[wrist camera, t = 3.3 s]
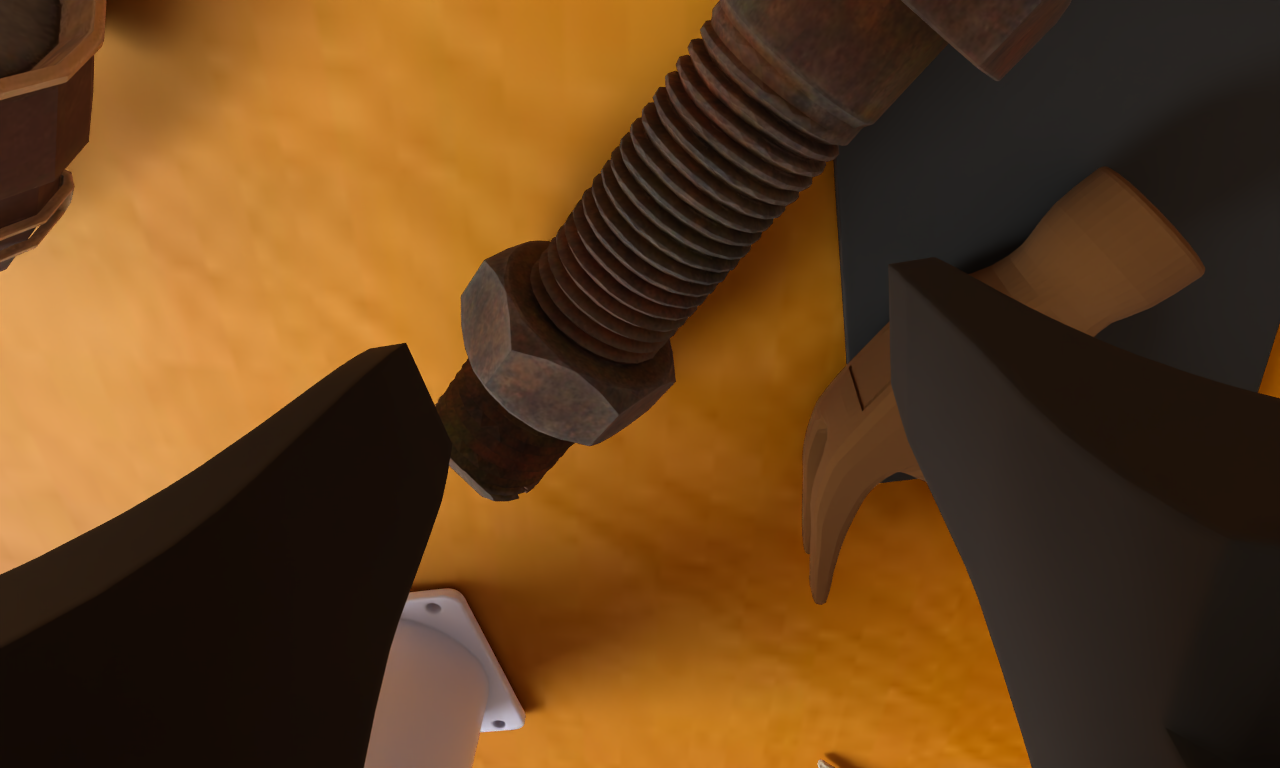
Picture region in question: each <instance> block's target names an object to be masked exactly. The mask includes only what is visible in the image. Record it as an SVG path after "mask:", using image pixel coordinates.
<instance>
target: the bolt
mask: <svg viewBox="0 0 1280 768" xmlns="http://www.w3.org/2000/svg"><path fill="white" fill-rule="evenodd" d="M1071 1H1072V0H720V1H719V2H718V3H717V4H716V6H715V7H714V8H713V12H712V19H711V20H709V21H706V22H705V23H704V25H703V26H702V28H701V29H700V31H701V35H702V39H703V40H702V39H699V38H698V39H693V40H691V42H690V44H689V46H688V50H689V54H690V56H689V55H684V56H681V57H679V59H678V61H677V63H676V67H677V70H678V72H677V71H674V72H671V73H668V74H667V75H666V77H665V83H666V87H659V88H658V90H657V92H656V93H655V95H654V96H653V100H654V102H651V103H648V104H647V105H646V106H645V107H644V108H643V110H642V117H641V118H637V119H636V120H635V122H634V123H633V124H632V125H631V129H630V132H628V133H627V134H626V135H625V136H624V137H623V138H622V139H621V142H620V146H618V147H617V148H616V149H615V150H614V151H613V152H612V155H611V160H608V161H607V162H606V164H605V165H604V167H603V168H602V170H601V173H600V174H598V175H597V176H596V177H595V178H594V179H593V185H592V187H591V188H589V189H587V190H586V191H585V192H584V194H583V197H582V200H580V201H579V202H578V204H577V205H576V207H575V208H574V210H573V212H572V213H571V214H570V216H569V217H568V219H567V220H566V222H565V224H564V225H563V226H561V228H560V229H559V231H558V233H557V235H556V237H554V238H553V239H552V240H551V242H549V241H529V242H526V243H523V244H520V245H517V246H514V247H511V248H508V249H506V250H504V251H502V252H500V253H498V254H496V255H494V256H492V257H490V258H488V259H486V260H484V261H483V263H482V264H481V266H480V267H479V269H478V271H477V272H476V274H475V275H474V277H473V278H472V280H471V281H470V283H469V284H468V286H467V288H466V289H465V291H464V292H463V294H462V295H461V326H462V332H463V339H464V345H465V349H466V352H467V355H468V359H467V362H465V363H464V364H463V366H462V369H461V370H460V371H459V372H458V373H457V374H456V377H455V379H454V380H453V381H452V382H451V383H450V385H449V387H448V389H447V390H446V392H445V393H444V394H443V395H442V396H441V397H440V398H439V400H438V403H437V404H436V410H437V412H438V414H439V416H440V418H441V420H442V423H443V425H444V427H445V429H446V431H447V434H448V436H449V438H450V440H451V442H452V450H451V456H450V462H449V466H450V467H451V468H452V469H453V470H454V471H455V472H456V473H457V474H458V475H459V476H461V477H462V478H463V479H464V480H465V481H466V482H467V483H468V484H469V485H470V486H471V487H472V488H473V489H474V490H475V491H476V492H477V493H479V494H480V495H481V496H482V497H484V498H487V499H490V500H493V501H511V500H515V499H519V496H518V494H520V493H524V492H526V493H527V492H529V491H530V490H532V489H533V488H534V487H535V485H537V484H538V483H539V481H540V480H541V479H542V477H543V476H544V475H545V473H546V472H547V471H548V470H549V469H551V468H552V467H553V466H554V464H555V463H556V462H557V461H558V459H559V458H560V457H562V456H563V455H564V453H565V452H566V451H567V449H568V448H569V447H570V446H572V445H573V444H574V443H579V444H583V445H587V446H592V445H595V444H598V443H601V442H603V441H604V440H606V439H608V438H610V437H611V436H613V435H615V434H616V433H618V432H619V431H621V430H622V429H624V428H625V427H627V426H628V425H629V424H631V423H632V422H633V421H635V420H636V419H637V418H639V417H640V416H641V415H643V414H644V413H645V412H647V411H648V410H649V409H650V408H651V407H652V406H653V405H654V404H655V403H656V402H657V401H658V400H659V398H660V397H661V396H662V395H663V394H664V393H665V392H666V391H667V390H668V389H669V388H670V387H671V386H672V385H673V384H674V383H675V382H676V379H675V370H674V360H673V351H672V347H671V343H670V339H669V338H671V337H672V336H673V335H674V334H675V333H676V331H677V330H678V328H679V327H681V326H682V325H683V324H684V323H685V322H686V320H687V319H688V317H690V316H691V315H692V314H693V313H694V312H695V311H696V310H697V307H698V306H699V305H701V304H702V303H703V302H704V300H705V299H706V298H707V296H708V295H709V294H711V293H712V292H713V291H714V289H715V288H716V286H717V285H718V283H719V282H722V281H723V280H724V279H725V277H726V276H727V274H728V272H729V271H730V270H733V269H734V268H735V267H736V265H737V264H738V262H739V260H740V259H741V258H742V257H744V256H745V255H746V254H747V253H748V252H749V251H750V249H751V244H753V243H755V242H756V241H758V240H759V239H760V237H761V234H762V231H766V230H767V229H768V228H769V227H770V225H771V224H772V223H773V219H774V218H778V217H779V216H780V215H781V214H782V213H783V212H784V211H785V208H786V206H787V205H789V204H791V203H792V202H794V201H796V200H797V199H798V197H799V192H800V191H802V190H805V189H807V188H809V187H810V185H811V184H812V177H815V176H817V175H820V174H821V173H822V172H823V170H824V168H825V166H826V162H828V161H831V160H834V159H835V158H836V157H837V156H838V155H839V147H838V145H841V146H845V145H848V144H849V143H850V142H851V141H852V139H853V138H854V137H855V136H856V135H857V134H858V133H859V132H860V131H861V130H862V128H864V127H866V126H869V125H872V124H874V123H875V122H876V121H877V120H878V119H879V118H880V117H881V116H882V114H883V113H884V112H885V111H886V110H887V109H888V108H889V107H890V106H891V105H892V104H893V103H894V102H895V100H896V99H897V98H898V97H899V96H900V95H901V94H902V93H903V92H904V91H905V90H906V89H907V88H908V87H909V85H910V84H911V83H912V82H913V81H914V80H915V79H916V78H917V77H918V76H919V75H920V74H921V73H922V72H923V70H924V69H925V68H926V67H927V66H928V65H929V64H930V63H931V62H932V61H933V60H934V59H935V58H936V57H937V55H938V54H939V53H940V52H941V51H942V50H943V49H944V48H945V47H946V46H947V45H948V44H950V45H951V46H953V47H954V48H955V49H956V50H957V51H958V52H959V53H961V54H962V55H963V56H964V57H965V58H966V59H967V60H969V61H970V62H971V63H972V64H973V65H974V66H975V67H977V68H978V69H979V70H981V71H982V72H983V73H985V74H986V75H987V76H989V77H990V78H992V79H993V80H995V81H1000V80H1001V79H1002V78H1003V77H1004V76H1005V75H1006V74H1007V73H1008V72H1009V71H1010V70H1011V69H1012V68H1013V67H1014V66H1015V65H1016V64H1017V63H1018V62H1019V61H1020V60H1021V59H1022V58H1023V57H1024V56H1025V55H1026V54H1027V53H1028V52H1029V51H1030V50H1031V49H1032V48H1033V47H1034V46H1035V45H1036V44H1037V43H1038V42H1039V41H1040V39H1041V38H1042V37H1043V36H1044V35H1045V34H1046V33H1047V32H1048V31H1049V30H1050V29H1051V28H1052V27H1053V26H1054V25H1055V24H1056V23H1057V22H1058V20H1059V19H1060V18H1061V16H1062V15H1063V13H1064V12H1065V10H1066V9H1067V8H1068V6H1069V5H1070V3H1071Z"/></svg>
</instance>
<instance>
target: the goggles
mask: <svg viewBox="0 0 1280 768" xmlns="http://www.w3.org/2000/svg"><path fill="white" fill-rule="evenodd" d="M105 17H106V0H0V271H3V270H5V269H7V267H8V266H9V265H10V263H11V262H12V260H13V259H14V258H15V256H17V255H19V254H22V253H24V252H27V251H29V250H31V249H34V248H36V247H37V246H38V244H39V243H40V242H41V241H42V240H43V238H44V237H45V236H46V235H47V233H48V232H49V231H50V230H51V229H52V227H53V226H54V225H55V224H56V223H57V221H58V220H59V219H60V218H61V216H62V215H63V214H64V212H65V211H66V209H67V208H68V206H69V204H70V203H71V200H72V195H73V190H74V183H73V178H72V173H71V172H69V171H67V170H64V169H65V168H66V167H67V166H68V165H69V164H70V162H71V161H72V160H73V159H74V158H75V157H76V155H77V154H78V153H79V152H80V151H81V150H82V149H83V147H84V146H85V145H86V144H87V143H88V142H89V131H90V120H91V110H92V99H93V80H94V54H95V53H96V52H97V51H98V50H99V49H100V48H101V47H102V44H103V42H104V33H105ZM39 225H40V227H39V228H38V229H37V230H36V231H35V232H34V234H33V235H32V236H31V237H30V238H29V236H30V235H31V234H32V232H33V231H34V229H35V228H36V227H37V226H39ZM28 238H29V239H28Z"/></svg>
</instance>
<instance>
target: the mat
mask: <svg viewBox="0 0 1280 768" xmlns="http://www.w3.org/2000/svg"><path fill="white" fill-rule="evenodd" d="M838 147H839V155H838V156H837V157H836V158H835V159H834V160H833V163H834V178H835V193H836V209H837V224H838V239H839V255H840V270H841V285H842V301H843V316H844V331H845V346H846V362H847V364H848V363H849V362H850V361H851V360H852V359H853V358H854V357H855V356H856V355H857V354H858V353H859V352H860V351H861V350H862V349H863V348H864V347H865V346H866V345H867V344H868V343H869V342H870V341H871V340H872V338H873V337H874V336H875V335H876V334H877V333H878V332H879V331H880V330H881V329H882V328H883V327H884V326H885V325H886V324H887V323H888V322H889V277H888V264H893V263H899V262H905V261H911V260H918V259H924V258H930V257H936V258H938V259H940V260H942V261H944V262H946V263H948V264H950V265H952V266H954V267H956V268H958V269H960V270H961V271H963V272H965V273H967V274H971V273H974V272H976V271H979V270H981V269H984V268H986V267H989V266H991V265H993V264H995V263H996V262H998V261H1000V260H1001V259H1003V258H1005V257H1007V256H1008V255H1010V254H1011V253H1012V252H1013V251H1015V250H1016V249H1017V248H1018V247H1020V246H1021V245H1022V244H1023V243H1024V242H1025V240H1026V239H1027V238H1028V237H1029V235H1030V234H1031V233H1032V231H1033V230H1034V229H1035V227H1036V226H1037V225H1038V223H1039V222H1040V221H1041V219H1042V218H1043V217H1044V216H1045V215H1046V213H1047V212H1048V211H1049V210H1050V209H1051V208H1052V206H1053V205H1054V204H1055V203H1056V202H1057V201H1059V200H1060V199H1061V198H1062V197H1063V196H1064V195H1065V194H1067V193H1068V192H1069V191H1070V190H1071V189H1072V188H1074V187H1075V186H1076V185H1077V184H1079V183H1080V182H1081V181H1083V180H1084V179H1085V178H1086V177H1088V176H1089V175H1090V174H1092V173H1093V172H1094V171H1096V170H1097V169H1098V168H1100V167H1109V168H1111V169H1112V170H1114V171H1115V172H1117V173H1119V174H1120V175H1121V176H1122V177H1124V178H1125V179H1126V180H1127V181H1129V182H1130V183H1131V184H1132V185H1133V186H1134V187H1135V188H1137V189H1138V190H1139V191H1140V192H1141V193H1142V194H1143V195H1144V196H1145V197H1146V198H1147V199H1148V200H1149V201H1150V202H1151V203H1152V204H1153V205H1154V206H1155V207H1156V208H1157V209H1158V210H1159V211H1160V212H1161V213H1162V214H1163V215H1164V216H1165V217H1166V218H1167V219H1168V220H1169V221H1170V222H1171V224H1172V225H1173V226H1174V227H1175V228H1176V229H1177V230H1178V231H1179V233H1180V234H1181V235H1182V236H1183V237H1184V238H1185V239H1186V241H1187V242H1188V243H1189V244H1190V246H1191V247H1192V248H1193V250H1194V251H1195V252H1196V253H1197V255H1198V256H1199V258H1200V260H1201V262H1202V263H1203V265H1204V267H1205V272H1204V274H1203V275H1202V276H1201V277H1200V278H1199V279H1197V280H1195V281H1194V282H1192V283H1191V284H1189V285H1188V286H1186V287H1185V288H1183V289H1182V290H1180V291H1179V292H1177V293H1176V294H1174V295H1172V296H1171V297H1169V298H1167V299H1165V300H1164V301H1162V302H1160V303H1158V304H1157V305H1155V306H1153V307H1151V308H1149V309H1146V310H1144V311H1141V312H1139V313H1136V314H1134V315H1132V316H1129V317H1126V318H1124V319H1121V320H1118V321H1115V322H1113V323H1111V324H1110V325H1108V326H1107V327H1106V328H1104V329H1103V330H1102V331H1100V332H1099V333H1098V334H1097V335H1096V336H1095V338H1097V339H1099V340H1101V341H1104V342H1106V343H1108V344H1111V345H1113V346H1116V347H1118V348H1121V349H1123V350H1126V351H1129V352H1131V353H1134V354H1136V355H1139V356H1142V357H1145V358H1148V359H1151V360H1154V361H1156V362H1159V363H1162V364H1165V365H1168V366H1171V367H1174V368H1176V369H1179V370H1182V371H1185V372H1188V373H1191V374H1194V375H1197V376H1201V377H1204V378H1207V379H1210V380H1214V381H1217V382H1220V383H1224V384H1227V385H1231V386H1234V387H1238V388H1242V389H1246V390H1249V391H1253V392H1257V393H1258V390H1259V387H1260V384H1261V381H1262V377H1263V374H1264V371H1265V368H1266V365H1267V362H1268V358H1269V355H1270V352H1271V349H1272V346H1273V343H1274V339H1275V336H1276V333H1277V330H1278V327H1279V324H1280V0H1072V1H1071V3H1070V5H1069V6H1068V8H1067V9H1066V10H1065V12H1064V13H1063V15H1062V16H1061V18H1060V19H1059V20H1058V22H1057V23H1056V24H1055V25H1054V26H1053V27H1052V28H1051V29H1050V30H1049V31H1048V32H1047V33H1046V34H1045V35H1044V36H1043V37H1042V38H1041V39H1040V41H1039V42H1038V43H1037V44H1036V45H1035V46H1034V47H1033V48H1032V49H1031V50H1030V51H1029V52H1028V53H1027V54H1026V55H1025V56H1024V57H1023V58H1022V59H1021V60H1020V61H1019V62H1018V63H1017V64H1016V65H1015V66H1014V67H1013V68H1012V69H1011V70H1010V71H1009V72H1008V73H1007V74H1006V75H1005V76H1004V77H1003V78H1002V79H1001V80H1000V81H995V80H993V79H992V78H990V77H989V76H987V75H986V74H985V73H983V72H982V71H981V70H979V69H978V68H977V67H975V66H974V65H973V64H972V63H971V62H970V61H969V60H967V59H966V58H965V57H964V56H963V55H962V54H961V53H959V52H958V51H957V50H956V49H955V48H954V47H953V46H951V45H950V44H948V45H947V46H946V47H945V48H944V49H943V50H942V51H941V52H940V53H939V54H938V55H937V57H936V58H935V59H934V60H933V61H932V62H931V63H930V64H929V65H928V66H927V67H926V68H925V69H924V70H923V72H922V73H921V74H920V75H919V76H918V77H917V78H916V79H915V80H914V81H913V82H912V83H911V84H910V85H909V87H908V88H907V89H906V90H905V91H904V92H903V93H902V94H901V95H900V96H899V97H898V98H897V99H896V100H895V102H894V103H893V104H892V105H891V106H890V107H889V108H888V109H887V110H886V111H885V112H884V113H883V114H882V116H881V117H880V118H879V119H878V120H877V121H876V122H875V123H874V124H872V125H869V126H866V127H864V128H862V130H861V131H860V132H859V133H858V134H857V135H856V136H855V137H854V138H853V139H852V141H851V142H850V143H849V144H848V145H845V146H841V145H838ZM910 479H918V478H916V477H913V476H911V475H908V474H906V473H902V472H896V473H894V474H892V475H891V476H889V477H887V478H886V479H884V480H883V481H882V482H880V483H886V482H894V481H902V480H910Z"/></svg>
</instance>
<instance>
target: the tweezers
mask: <svg viewBox="0 0 1280 768" xmlns="http://www.w3.org/2000/svg"><path fill="white" fill-rule="evenodd" d="M818 767H819V768H835V767H833V766H831V765H830V764H828V763H827V762H825V761H823V760H822V759H820V760H819V761H818Z"/></svg>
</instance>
